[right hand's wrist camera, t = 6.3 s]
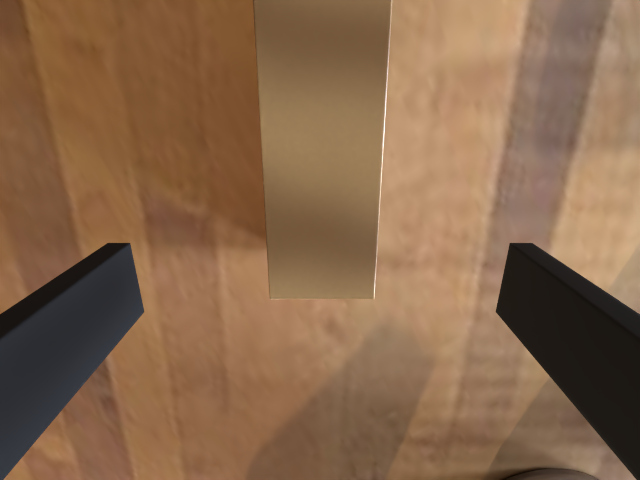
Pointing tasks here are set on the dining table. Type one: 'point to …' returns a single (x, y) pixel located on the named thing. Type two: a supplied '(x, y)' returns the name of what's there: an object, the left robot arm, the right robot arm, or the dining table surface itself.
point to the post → (322, 142)
